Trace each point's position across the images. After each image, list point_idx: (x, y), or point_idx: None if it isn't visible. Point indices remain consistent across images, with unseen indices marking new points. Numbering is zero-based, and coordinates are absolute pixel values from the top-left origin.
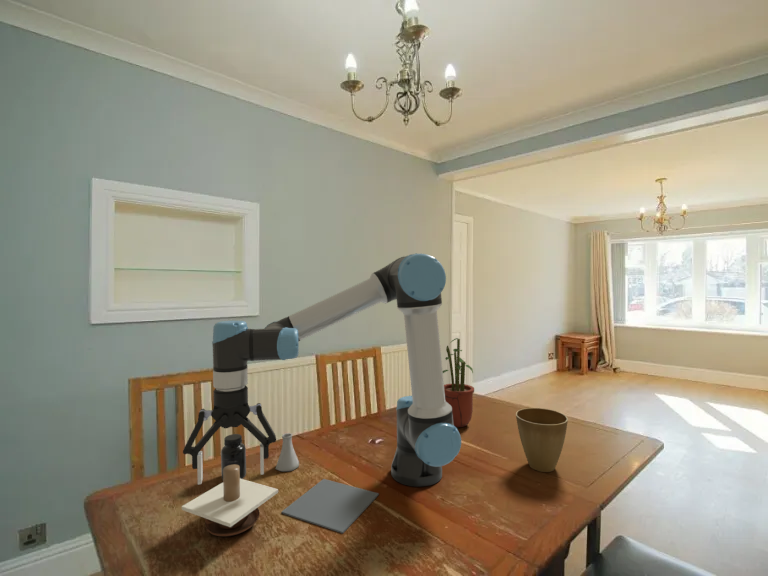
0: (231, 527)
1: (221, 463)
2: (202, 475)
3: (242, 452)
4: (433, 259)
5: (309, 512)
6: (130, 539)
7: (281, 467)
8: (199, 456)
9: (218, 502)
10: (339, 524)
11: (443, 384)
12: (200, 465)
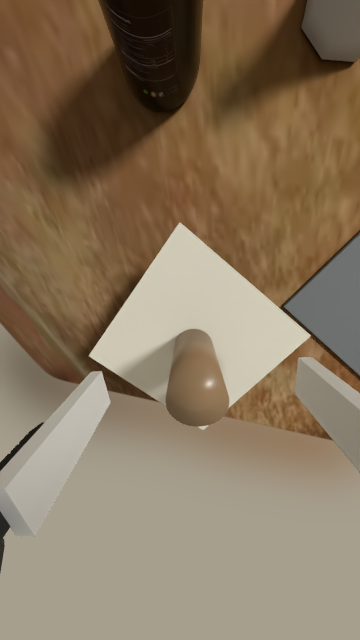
0: None
1: (103, 14)
2: (96, 383)
3: None
4: None
5: (337, 322)
6: (37, 321)
7: (330, 35)
8: (30, 530)
9: (166, 359)
10: None
11: None
12: (71, 468)
